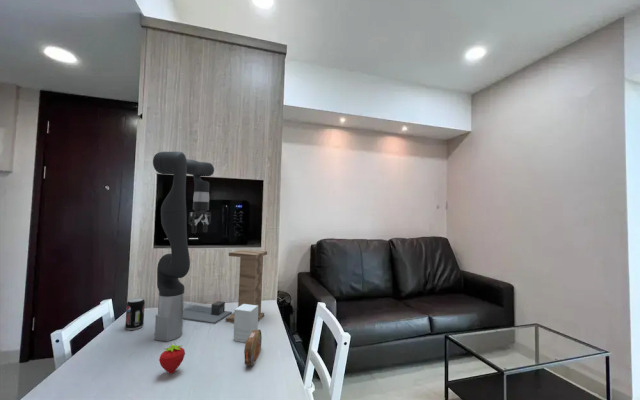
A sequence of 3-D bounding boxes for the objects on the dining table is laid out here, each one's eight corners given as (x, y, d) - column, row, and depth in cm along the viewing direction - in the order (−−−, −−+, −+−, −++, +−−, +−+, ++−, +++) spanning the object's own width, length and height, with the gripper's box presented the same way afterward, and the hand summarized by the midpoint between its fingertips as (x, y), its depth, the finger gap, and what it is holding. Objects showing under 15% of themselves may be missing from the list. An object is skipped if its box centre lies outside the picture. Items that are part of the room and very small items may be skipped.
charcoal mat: (214, 324, 126) (214, 322, 126) (170, 317, 132) (170, 315, 132) (231, 313, 140) (231, 311, 140) (190, 307, 146) (191, 306, 146)
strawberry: (154, 375, 87) (156, 342, 87) (179, 365, 93) (180, 334, 93) (163, 382, 83) (164, 349, 84) (187, 371, 89) (189, 340, 89)
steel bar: (218, 315, 134) (218, 305, 134) (179, 309, 140) (179, 299, 141) (224, 312, 139) (224, 302, 139) (186, 306, 145) (187, 296, 145)
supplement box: (258, 335, 116) (259, 305, 117) (249, 343, 109) (250, 311, 110) (242, 333, 118) (243, 303, 119) (232, 340, 111) (234, 308, 112)
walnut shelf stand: (252, 325, 126) (255, 255, 127) (225, 321, 129) (228, 252, 131) (264, 316, 138) (267, 251, 139) (239, 312, 141) (241, 249, 142)
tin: (251, 370, 91) (252, 344, 91) (241, 370, 91) (243, 344, 91) (262, 348, 106) (262, 325, 106) (253, 347, 106) (254, 325, 106)
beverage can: (141, 329, 118) (143, 301, 118) (122, 331, 116) (124, 302, 116) (144, 323, 124) (146, 296, 125) (127, 325, 122) (129, 297, 122)
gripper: (198, 200, 135) (196, 234, 134) (216, 201, 149) (214, 232, 148) (185, 200, 137) (183, 233, 136) (203, 201, 150) (202, 231, 150)
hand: (199, 232), depth 142 cm, fingers open, 8 cm apart
